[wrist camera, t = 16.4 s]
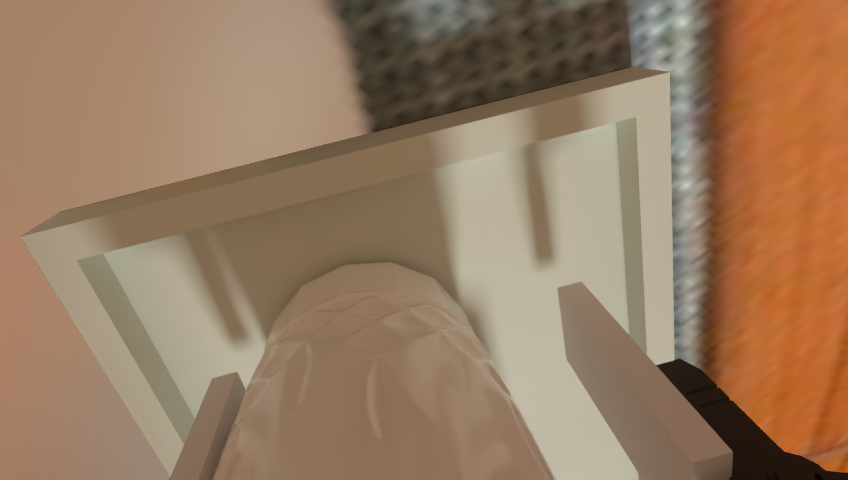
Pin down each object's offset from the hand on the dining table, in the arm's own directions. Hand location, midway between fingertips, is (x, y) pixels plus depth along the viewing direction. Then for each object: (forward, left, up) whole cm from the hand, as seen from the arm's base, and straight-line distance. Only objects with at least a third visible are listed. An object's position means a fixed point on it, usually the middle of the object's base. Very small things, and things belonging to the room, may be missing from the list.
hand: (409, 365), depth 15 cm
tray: (-3, 0, -3) cm, 5 cm away
